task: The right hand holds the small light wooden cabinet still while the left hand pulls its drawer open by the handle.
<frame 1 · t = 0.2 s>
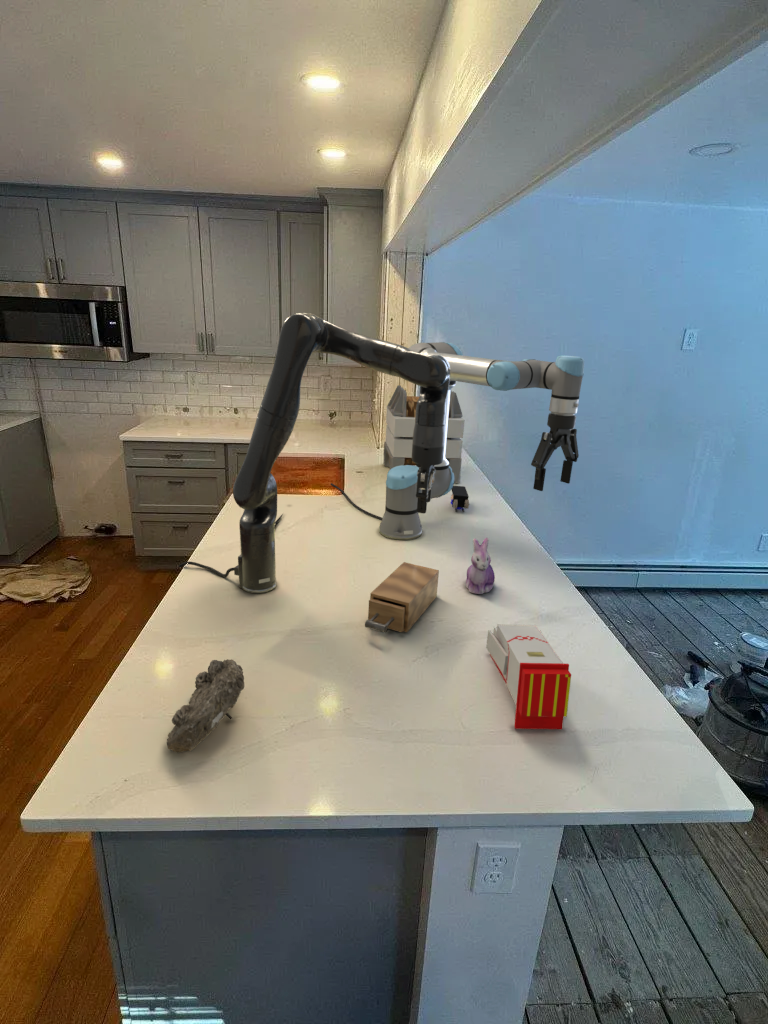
left hand: (423, 506, 140), 29 cm above the counter, tool pointing down, fingers open, 8 cm apart
right hand: (551, 486, 165), 28 cm above the counter, tool pointing down, fingers open, 13 cm apart
feather: (281, 517, 210), on the counter
drawer: (396, 604, 144), point 4 cm above the counter, slide at 0.8 cm
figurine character: (458, 508, 229), on the counter
fossil: (212, 717, 108), on the counter
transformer: (419, 473, 275), on the counter
figurine: (479, 587, 163), on the counter
cabinet: (404, 608, 150), on the counter
toy: (519, 685, 121), on the counter
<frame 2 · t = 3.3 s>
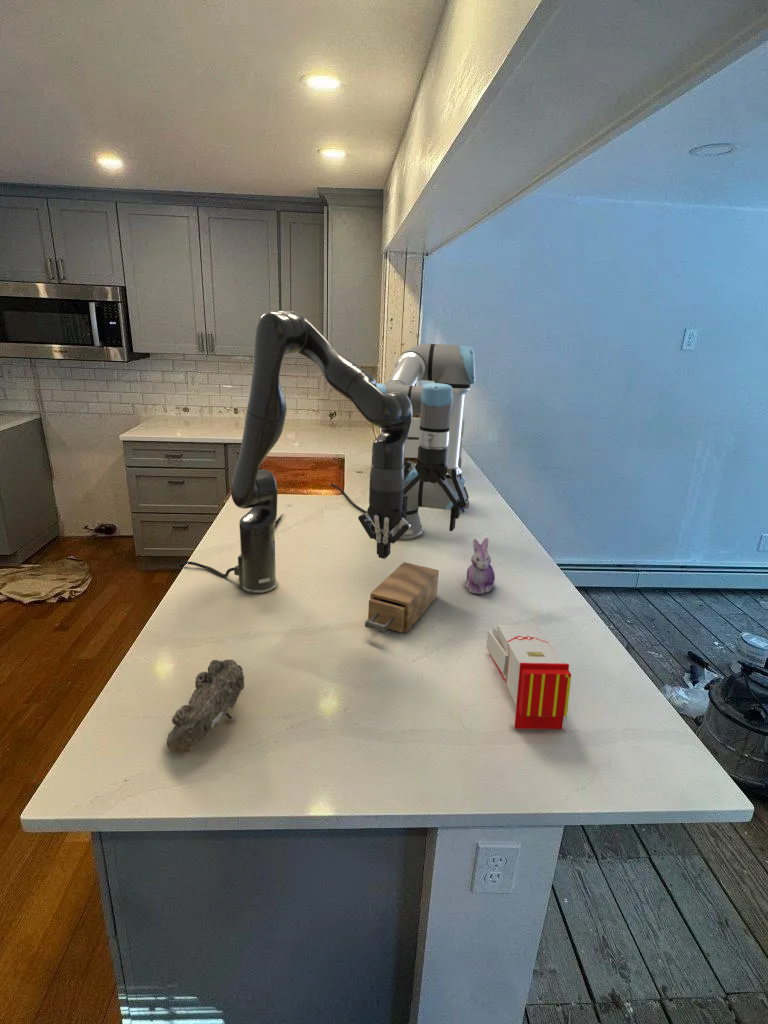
left hand: (383, 557, 130), 21 cm above the counter, tool pointing down, fingers closed
right hand: (427, 525, 150), 21 cm above the counter, tool pointing down, fingers open, 13 cm apart
nothing on the counter moved.
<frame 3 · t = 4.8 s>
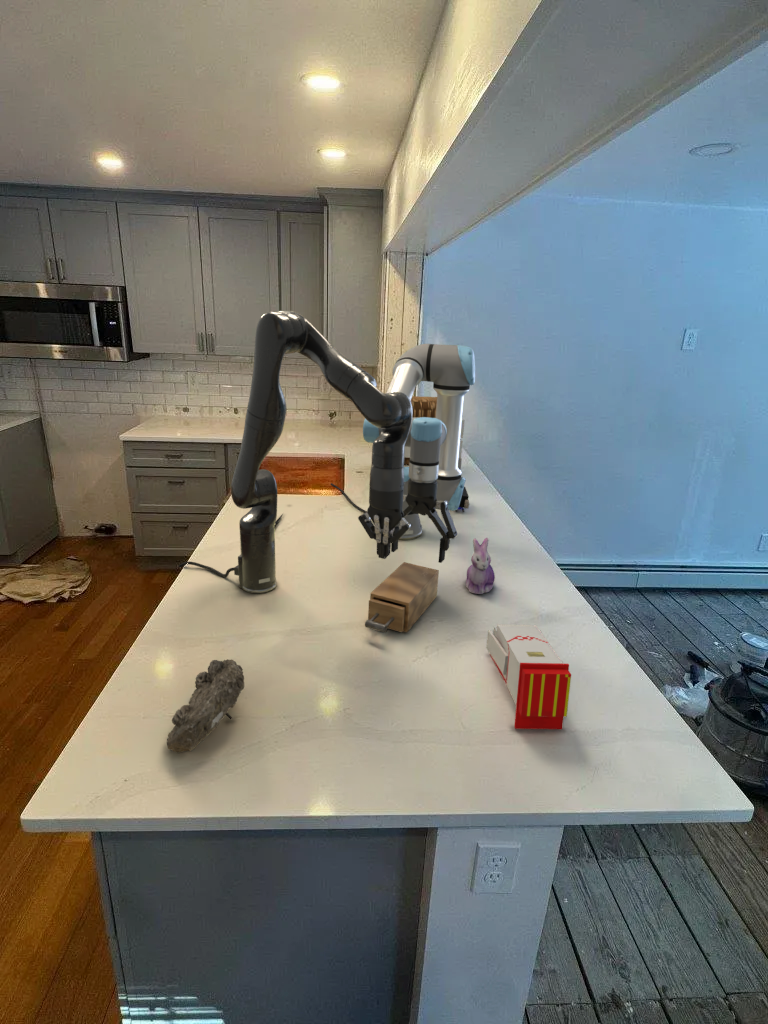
left hand: (383, 557, 130), 21 cm above the counter, tool pointing down, fingers closed
right hand: (417, 555, 152), 13 cm above the counter, tool pointing down, fingers open, 13 cm apart
nothing on the counter moved.
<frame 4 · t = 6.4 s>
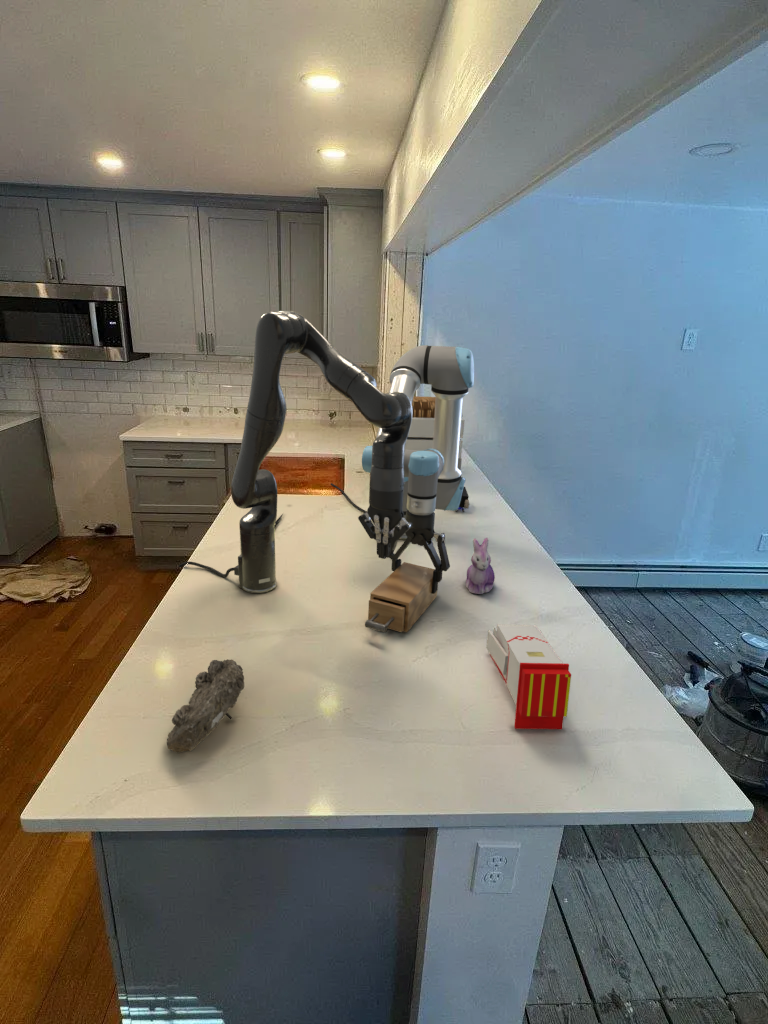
left hand: (383, 557, 130), 21 cm above the counter, tool pointing down, fingers closed
right hand: (415, 586, 155), 3 cm above the counter, tool pointing down, fingers closed on cabinet, 10 cm apart
cabinet: (404, 608, 150), on the counter, touching right hand
everything else where it was.
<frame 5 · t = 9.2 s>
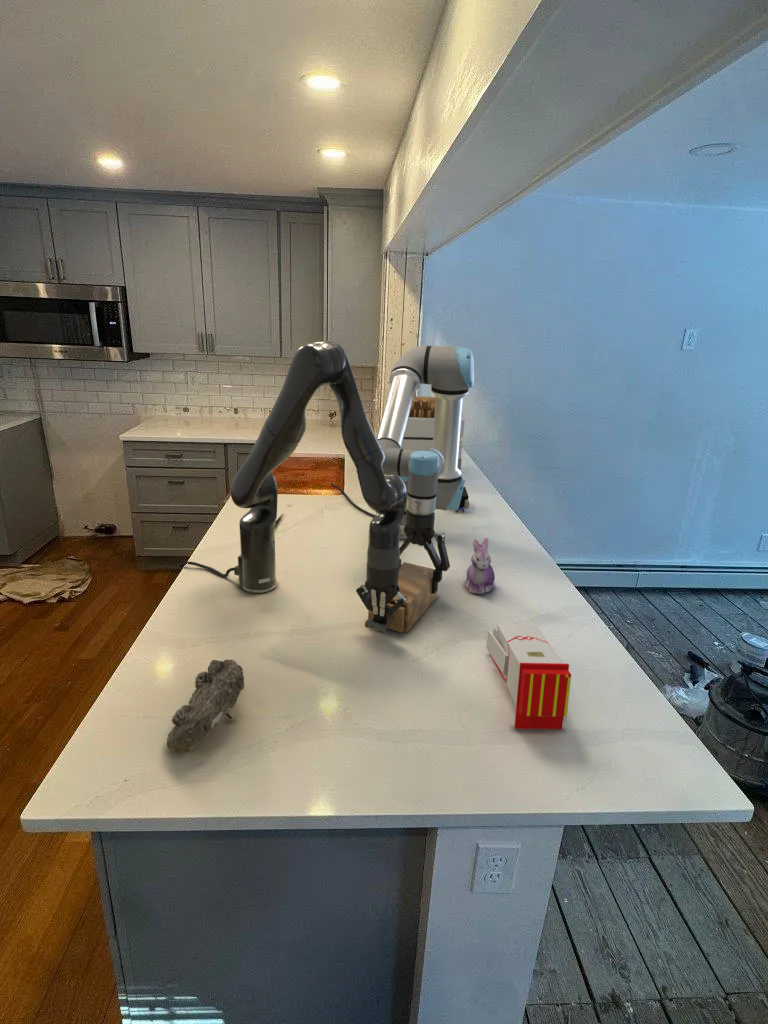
left hand: (380, 627, 136), 3 cm above the counter, tool pointing down, fingers closed
right hand: (415, 586, 155), 3 cm above the counter, tool pointing down, fingers closed on cabinet, 10 cm apart
drawer: (396, 604, 144), point 4 cm above the counter, slide at 0.8 cm, touching left hand
cabinet: (404, 608, 150), on the counter, touching right hand
everything else where it was.
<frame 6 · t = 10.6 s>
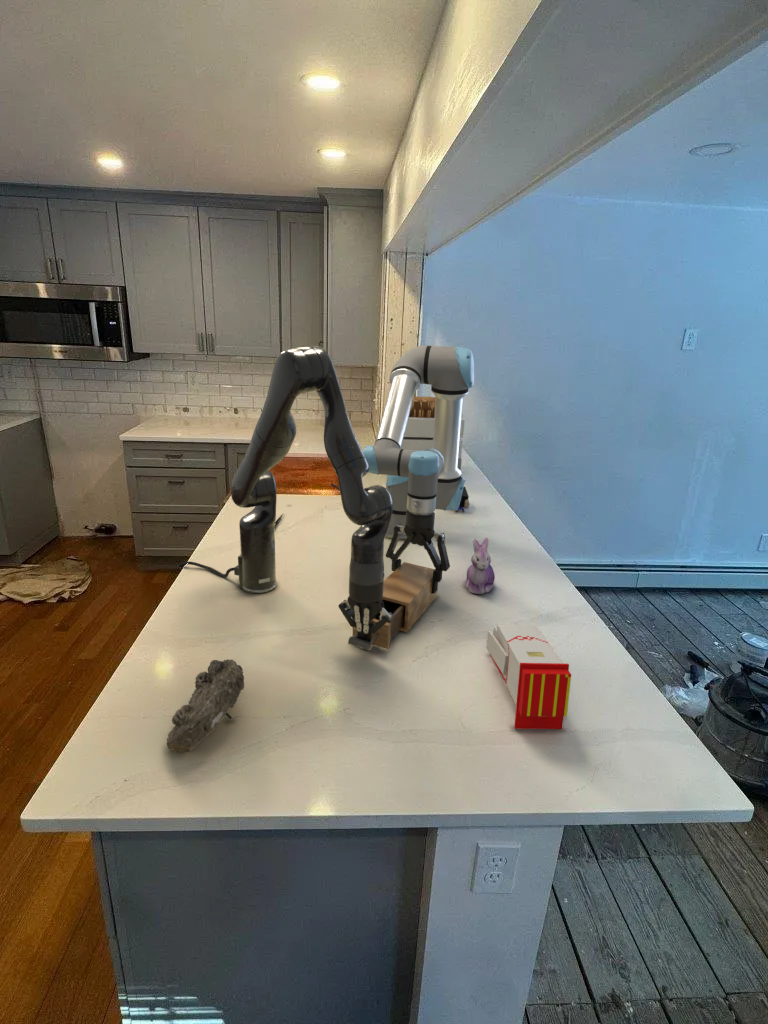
left hand: (364, 644, 129), 3 cm above the counter, tool pointing down, fingers closed
right hand: (415, 586, 155), 3 cm above the counter, tool pointing down, fingers closed on cabinet, 10 cm apart
drawer: (383, 618, 137), point 4 cm above the counter, slide at 9.0 cm, touching left hand
cabinet: (404, 608, 150), on the counter, touching right hand
everything else where it was.
when the right hand's fingers open (3 cm above the counter, at t = 12.4 s): cabinet stays where it is, on the counter.
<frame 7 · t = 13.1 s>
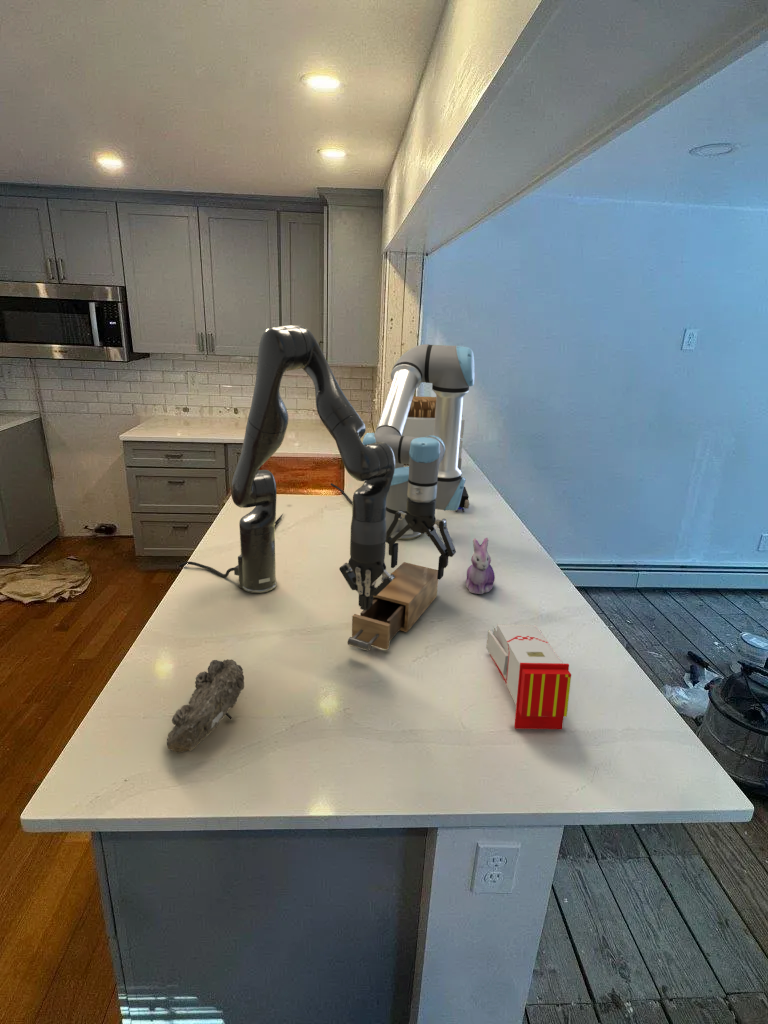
left hand: (365, 608, 126), 12 cm above the counter, tool pointing down, fingers closed
right hand: (416, 571, 154), 8 cm above the counter, tool pointing down, fingers open, 13 cm apart
drawer: (382, 619, 137), point 4 cm above the counter, slide at 9.3 cm
cabinet: (404, 608, 150), on the counter
everything else where it was.
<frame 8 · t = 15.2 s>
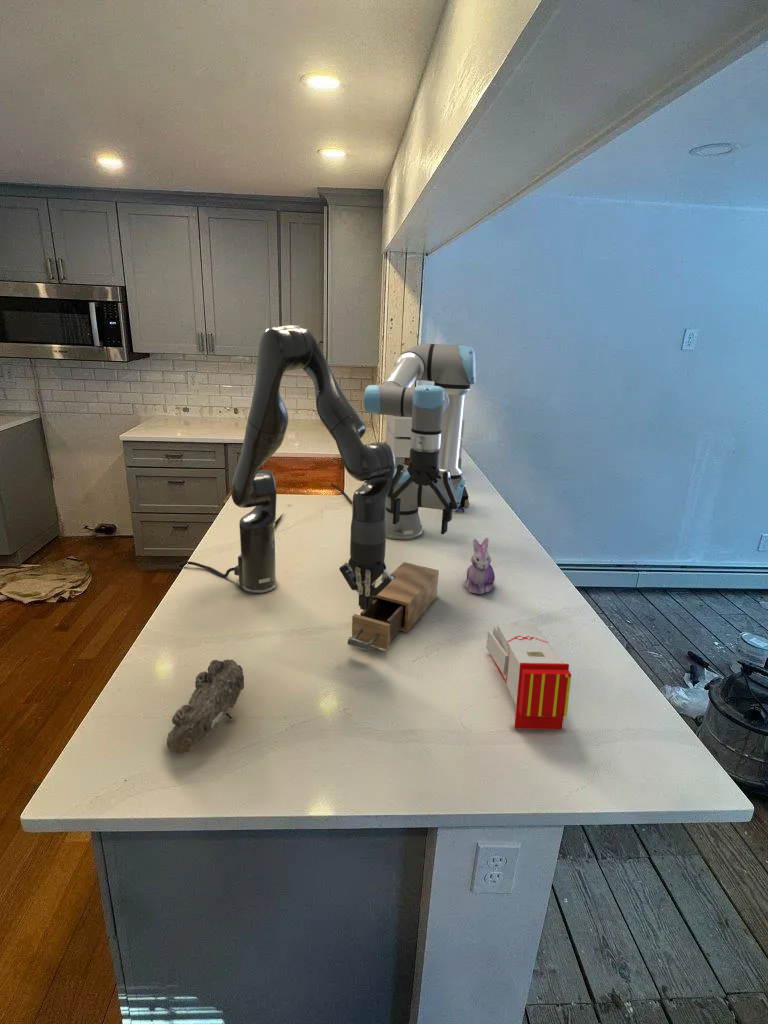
left hand: (365, 608, 126), 12 cm above the counter, tool pointing down, fingers closed
right hand: (419, 527, 149), 21 cm above the counter, tool pointing down, fingers open, 13 cm apart
nothing on the counter moved.
at the end: drawer slide at 9.3 cm; cabinet tilted 0°; cabinet never tilted more than 1° during the clip; cabinet moved 0.0 cm from its start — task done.
